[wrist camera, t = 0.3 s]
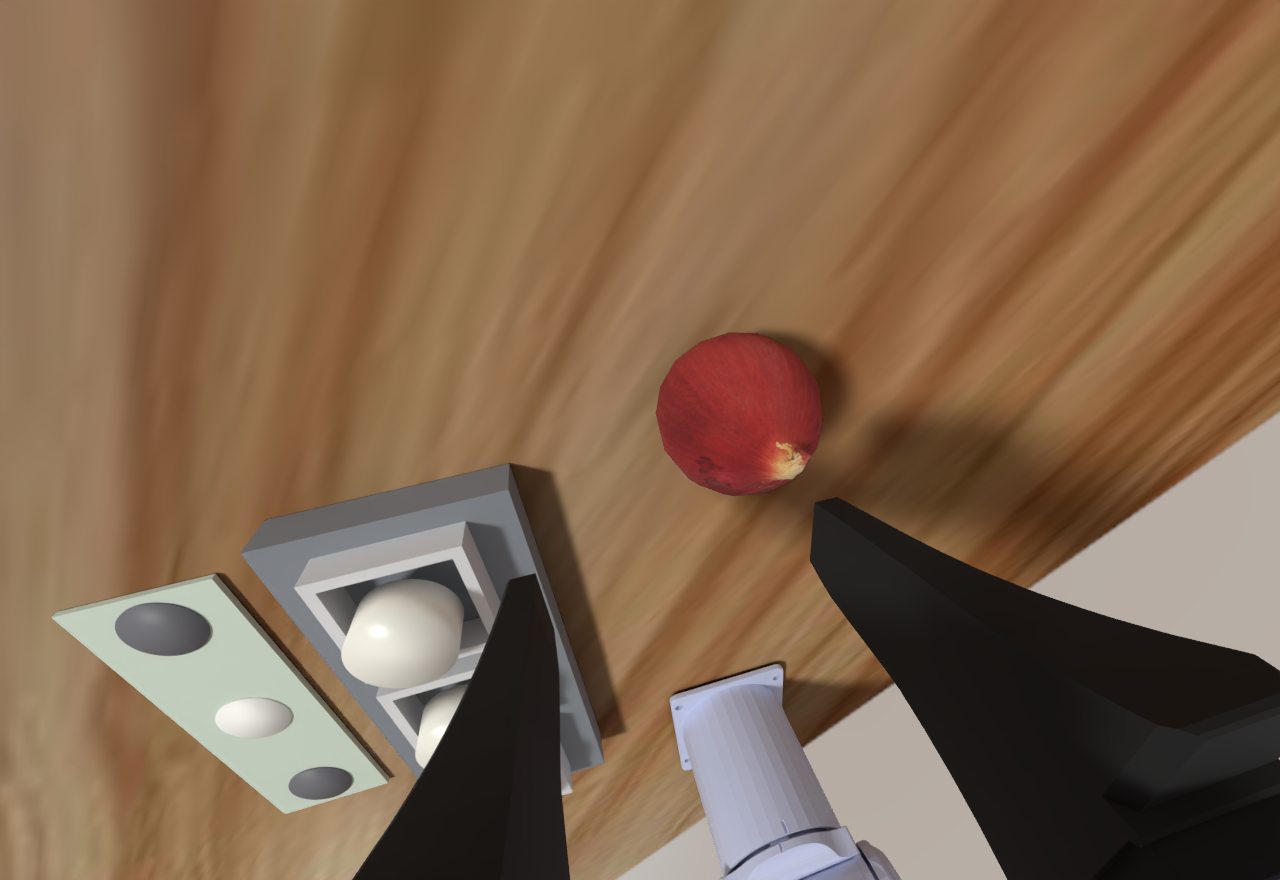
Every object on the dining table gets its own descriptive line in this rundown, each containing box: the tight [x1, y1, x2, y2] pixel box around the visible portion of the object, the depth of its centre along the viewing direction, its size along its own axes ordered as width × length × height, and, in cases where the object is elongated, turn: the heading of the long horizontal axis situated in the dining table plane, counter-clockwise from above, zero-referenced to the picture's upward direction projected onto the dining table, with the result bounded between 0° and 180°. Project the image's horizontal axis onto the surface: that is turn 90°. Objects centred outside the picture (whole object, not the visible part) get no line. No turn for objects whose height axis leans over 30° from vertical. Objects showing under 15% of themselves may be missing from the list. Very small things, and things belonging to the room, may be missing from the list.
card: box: [52, 574, 389, 814], centre depth 24 cm, size 18×6×1 cm, turn 8°
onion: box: [656, 333, 823, 496], centre depth 17 cm, size 6×6×8 cm
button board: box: [240, 464, 604, 795], centre depth 24 cm, size 22×10×4 cm, turn 8°
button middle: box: [415, 684, 468, 768], centre depth 22 cm, size 4×4×2 cm
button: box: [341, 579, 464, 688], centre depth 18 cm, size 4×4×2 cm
